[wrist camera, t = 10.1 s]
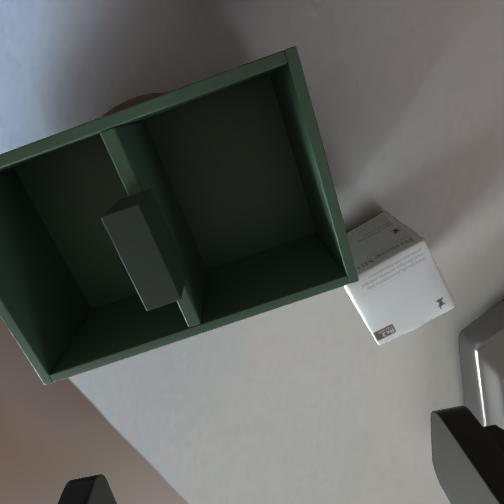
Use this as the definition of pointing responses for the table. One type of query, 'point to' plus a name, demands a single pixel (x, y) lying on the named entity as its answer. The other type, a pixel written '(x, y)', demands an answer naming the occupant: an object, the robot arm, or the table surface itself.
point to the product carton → (395, 278)
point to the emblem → (484, 366)
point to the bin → (169, 220)
